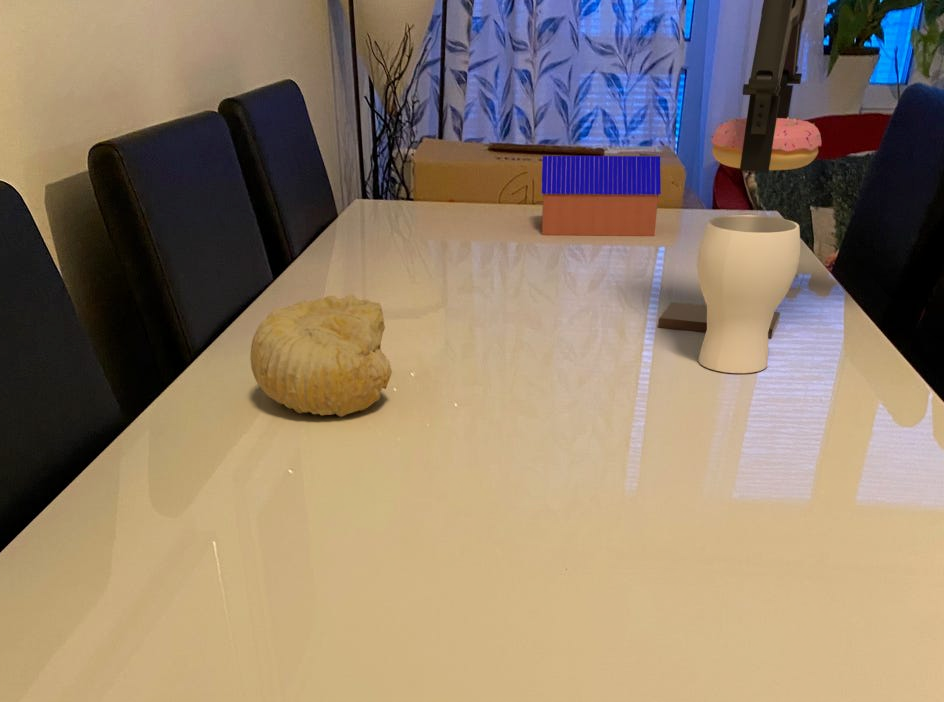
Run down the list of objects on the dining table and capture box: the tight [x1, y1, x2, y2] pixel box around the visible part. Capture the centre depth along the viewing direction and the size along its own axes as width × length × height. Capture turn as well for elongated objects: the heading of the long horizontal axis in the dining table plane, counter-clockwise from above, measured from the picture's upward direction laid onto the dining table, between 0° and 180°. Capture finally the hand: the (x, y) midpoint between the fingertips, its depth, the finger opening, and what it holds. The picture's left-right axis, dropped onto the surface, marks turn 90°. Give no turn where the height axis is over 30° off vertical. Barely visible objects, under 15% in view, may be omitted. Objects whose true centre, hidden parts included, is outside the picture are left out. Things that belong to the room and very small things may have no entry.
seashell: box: [249, 294, 393, 418], centre depth 102 cm, size 17×11×15 cm
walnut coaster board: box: [657, 301, 781, 340], centre depth 126 cm, size 14×8×1 cm, turn 69°
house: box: [541, 155, 662, 237], centre depth 172 cm, size 12×20×12 cm, turn 86°
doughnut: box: [710, 116, 823, 171], centre depth 101 cm, size 11×11×4 cm
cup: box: [696, 214, 801, 374], centre depth 109 cm, size 11×11×15 cm
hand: (761, 162), depth 102 cm, fingers closed on doughnut, 11 cm apart
